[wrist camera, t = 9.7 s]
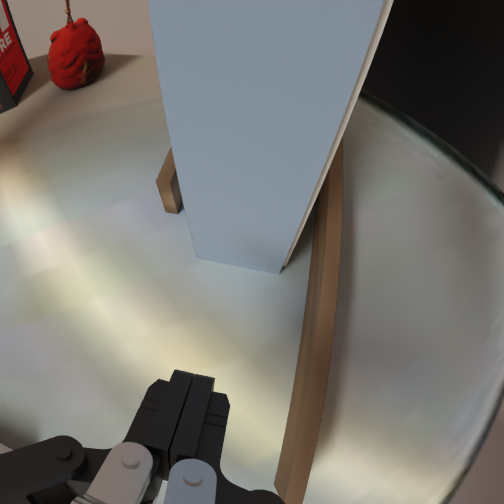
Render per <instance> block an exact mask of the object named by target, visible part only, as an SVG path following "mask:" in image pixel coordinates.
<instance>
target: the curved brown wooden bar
mask: <svg viewBox="0 0 504 504" xmlns="http://www.w3.org/2000/svg"><path fill="white" fill-rule="evenodd" d="M156 183H157V187H158V190H159V193H160V196H161V199H162V202H163V205H164V208H165V211H166V212H168V213H174V214H178V212H179V209H180V206H181V203H182V195H181V191H180V186H179V182H178V177H177V172H176V167H175V162H174V157H173V152H172V147H171V148H170V150H169V153H168V155H167V157H166V159H165V161H164V164H163V166H162V168H161V171H160V173H159V175H158V178H157V180H156ZM342 202H343V136H342V138H341V140H340V143H339V145H338V148H337V150H336V153H335V155H334V157H333V160H332V162H331V165H330V167H329V169H328V172H327V174H326V176H325V179H324V181H323V183H322V186H321V188H320V191H319V193H318V195H317V201H316V213H315V224H314V235H313V245H312V254H311V264H310V273H309V281H308V290H307V298H306V305H305V313H304V321H303V328H302V335H301V342H300V348H299V355H298V361H297V368H296V374H295V380H294V386H293V392H292V397H291V403H290V409H289V414H288V419H287V425H286V430H285V435H284V440H283V445H282V450H281V455H280V459H279V464H278V469H277V473H276V478H275V482H274V486H275V488H276V490H277V492H278V494H279V496H280V498H281V499H282V500H283V501H284V502H285V503H286V504H302V503H303V499H304V495H305V491H306V487H307V483H308V479H309V475H310V470H311V466H312V461H313V457H314V452H315V447H316V442H317V437H318V432H319V426H320V421H321V415H322V410H323V404H324V398H325V391H326V385H327V378H328V371H329V364H330V357H331V349H332V341H333V332H334V323H335V314H336V304H337V292H338V280H339V267H340V251H341V231H342Z"/></svg>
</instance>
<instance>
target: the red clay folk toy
mask: <svg viewBox="0 0 504 504" xmlns="http://www.w3.org/2000/svg"><path fill="white" fill-rule="evenodd" d="M65 1H66V7H67V8H66V9H65V10H64V11H65V13H66V14H67V25H66V26H65V27H63V28H62V29H60V30H58V31H55V32H53V34H52V35H51V38H50V40H51V42H52V43H51V47H50V49H49V54H48V56H47V62H48V70H49V71H50V72H51V78H52V81H53V82H54V83H55V84H56V85H57V86H58V87H60V88H61V89H66V90H72V89H77V88H80V87H82V86H84V85H87V84H89V83H91V82H92V81H94V80H95V79H96V77H97V76H98V75H99V74H100V72H101V70H102V67H103V65H104V61H105V59H104V54H103V51H102V46H101V41H100V38H99V36H98V35H97V33H96V32H95V30H94V29H93V28H92V27H91V26H90V25H89V24H88V21H87V20H86V19H85V18H79V19H78V20H77V21H75V22H74V23H73V20H72V17H71V15H70V8H69V0H65Z"/></svg>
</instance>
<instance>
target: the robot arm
mask: <svg viewBox="0 0 504 504" xmlns="http://www.w3.org/2000/svg"><path fill="white" fill-rule="evenodd" d="M214 382H215V378H213V377H208V376H203V375H198V374H195V375H194V374H193V373H189V372H185V371H180V370H176V369H175V370H174V372H173V374H172V376H171V379H170V381H169V382H168V381H165V380H161V379H158V380H157V381H156V382H154V383H153V384H152V385H151V386H149V388H148V390H147V392H146V394H145V396H144V399H143V401H142V403H141V405H140V408H139V409H138V411H137V413H136V416H135V418H134V420H133V422H132V424H131V426H130V429H129V431H128V433H127V435H126V437H125V439H124V440H123V442H122V443H120V444H118V445H116V446H114V447H113V448H111V449H92V448H83V447H82V445H81V444H80V443H79V442H78V441H77V440H76V439H74V438H72V437H70V436H63V435H62V436H56V437H53V438H50V439H47V440H44V441H41V442H38V443H35V444H32V445H29V446H26V447H23V448H19V449H16V450H13V451H9V452H6V453H2V454H0V504H156V501H157V499H158V496H159V490H160V487H161V484H162V481H163V480H166V481H168V484H167V489H166V495H165V500H164V504H286V503H285V502H284V501H283V500H282V499H281V498H280V497H279V496H278V495H276V494H275V493H273V492H270V491H267V490H253V491H248V490H246V489H243V488H241V487H239V486H237V485H235V484H233V483H231V482H230V481H228V480H227V479H226V478H225V477H224V475H223V474H222V472H221V469H220V459H221V453H222V448H223V442H224V437H225V431H226V425H227V420H228V414H229V409H230V404H229V401H228V398H227V395H226V394H223V393H218V392H213V390H214Z"/></svg>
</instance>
